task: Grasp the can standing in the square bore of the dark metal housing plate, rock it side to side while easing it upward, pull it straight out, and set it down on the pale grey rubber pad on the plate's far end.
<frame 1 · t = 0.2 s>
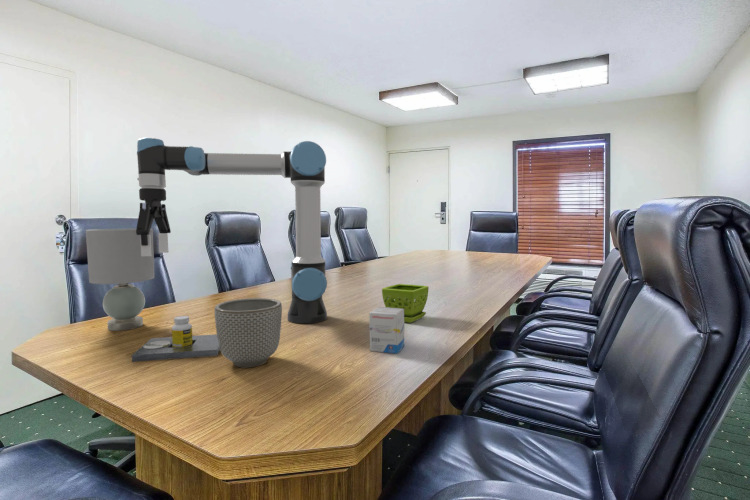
hand: (155, 254, 130), 27 cm above the table, fingers open, 13 cm apart
flower pot: (405, 319, 155), on the table
housing plate: (182, 349, 120), on the table
supplement bottle: (182, 350, 120), resting in housing plate
planter: (250, 362, 109), on the table
ink box: (387, 348, 120), on the table
lamp: (125, 327, 145), on the table
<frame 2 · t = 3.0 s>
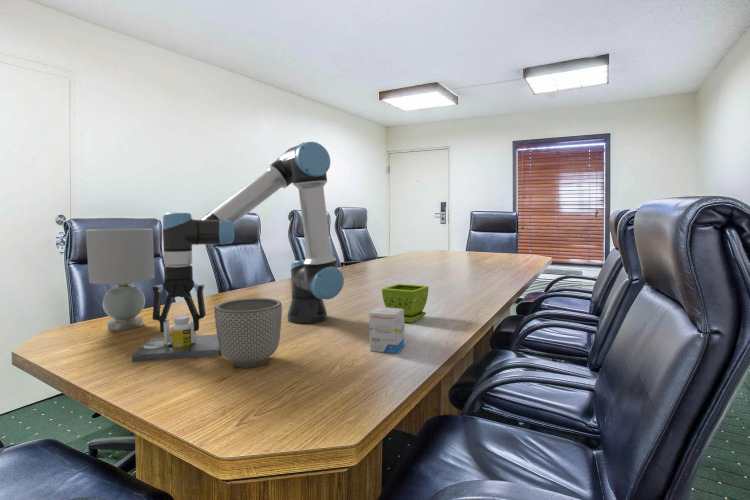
hand: (180, 342, 119), 2 cm above the table, fingers open, 7 cm apart
nothing on the table moved.
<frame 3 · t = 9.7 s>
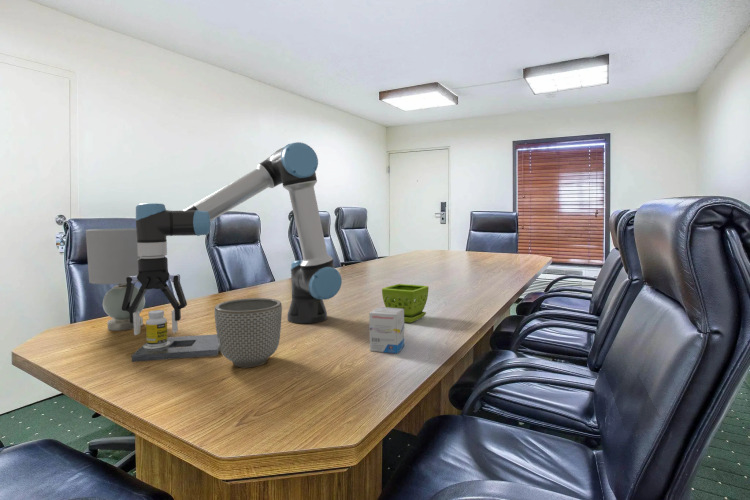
hand: (156, 332, 118), 6 cm above the table, fingers open, 9 cm apart
supplement bottle: (157, 344, 118), point 2 cm above the table, touching housing plate
everything else where it was.
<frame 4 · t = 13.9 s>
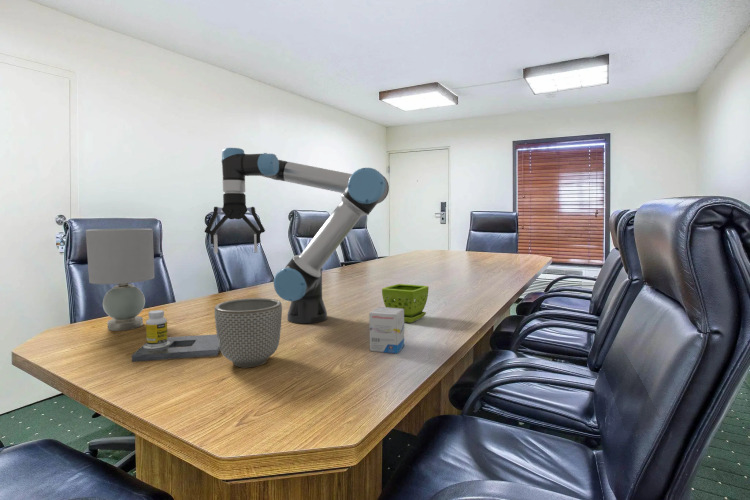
hand: (236, 252, 144), 27 cm above the table, fingers open, 13 cm apart
nothing on the table moved.
at the end: supplement bottle inside the target area (0.1 cm from its centre), point 1.9 cm above the table; supplement bottle tilted 0°; the gripper is holding nothing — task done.
